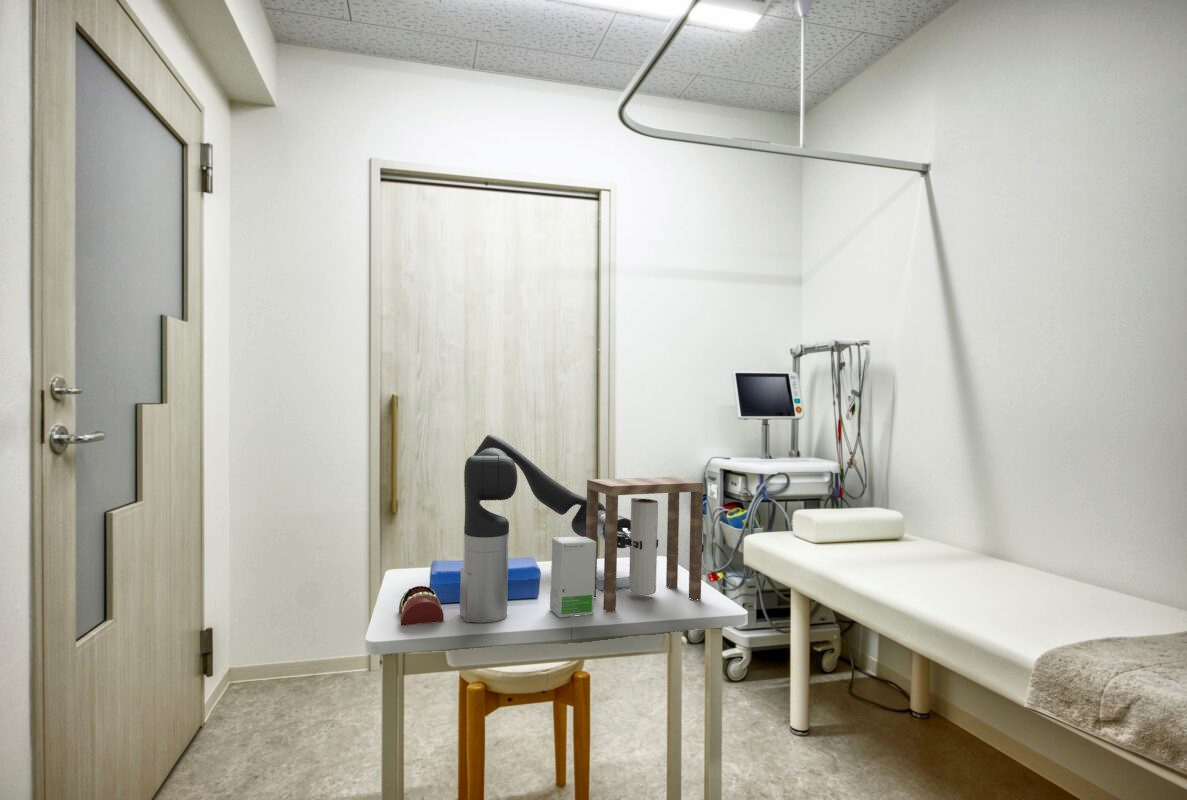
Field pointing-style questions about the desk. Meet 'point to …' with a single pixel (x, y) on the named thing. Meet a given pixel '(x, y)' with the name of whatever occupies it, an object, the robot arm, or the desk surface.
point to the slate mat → (620, 583)
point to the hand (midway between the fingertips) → (648, 544)
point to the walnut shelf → (696, 515)
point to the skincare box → (572, 576)
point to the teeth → (420, 606)
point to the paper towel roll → (643, 546)
